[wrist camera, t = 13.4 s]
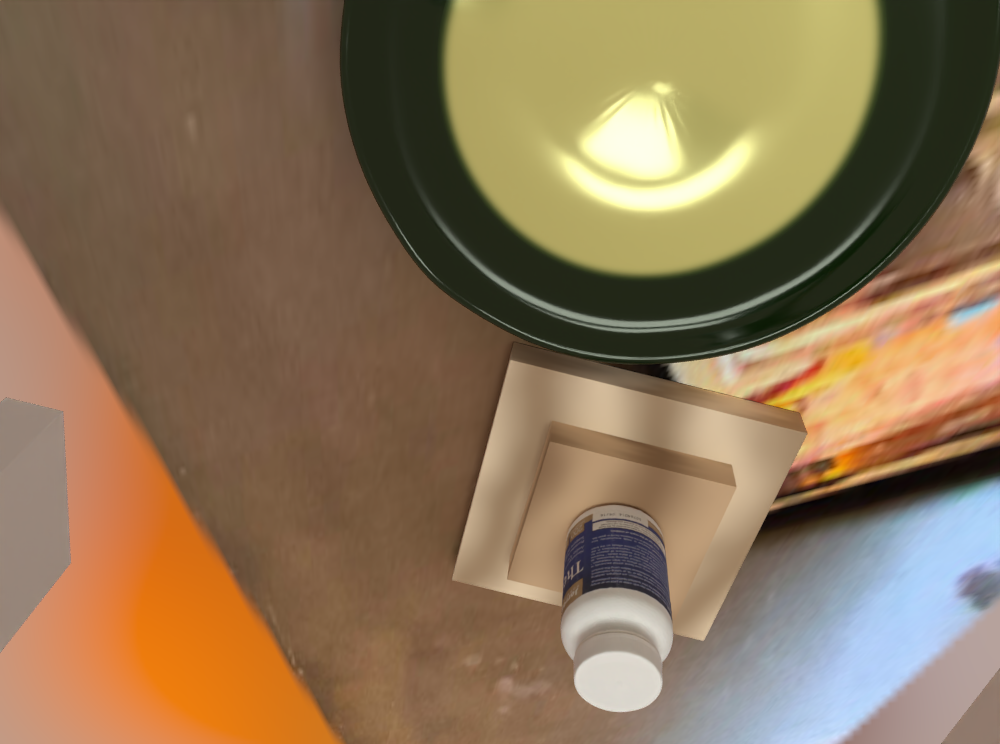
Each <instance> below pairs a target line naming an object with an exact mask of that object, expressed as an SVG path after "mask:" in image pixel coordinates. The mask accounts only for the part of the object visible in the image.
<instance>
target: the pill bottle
mask: <svg viewBox="0 0 1000 744" xmlns="http://www.w3.org/2000/svg"><path fill="white" fill-rule="evenodd" d="M561 637H562V642H563V645H564V647H565V650H566V651H567V653H568V654H569V656H570V657H571V658H572V659H573V661H574V684H575V687H576V690H577V691H578V693H579V694H580V696H581V697H582V698H583V699H584V700H586V701H587V702H588V703H590V704H592V705H593V706H596V707H598V708H600V709H604V710H607V711H613V712H628V711H634V710H638V709H641V708H643V707H646V706H647V705H649V704H651V703H652V702H653V701H654V700H655V699H656V698H657V697H658V695H659V694H660V691H661V688H662V662H663V661H664V660H665V658H666V657H667V655H668V654H669V652H670V649H671V646H672V642H673V623H672V611H671V602H670V592H669V583H668V571H667V562H666V552H665V544H664V539H663V534H662V532H661V530H660V528H659V526H658V525H657V524H656V522H655V521H654V520H653V519H652V518H651V517H650V516H648V515H647V514H645V513H643V512H642V511H640V510H637V509H635V508H631V507H627V506H622V505H606V506H600V507H595V508H592V509H590V510H588V511H586V512H585V513H583V514H582V515H580V516H579V517H578V518H577V519H576V520H575V521H574V522H573V524H572V525H571V527H570V528H569V531H568V534H567V538H566V547H565V561H564V578H563V596H562V615H561Z"/></svg>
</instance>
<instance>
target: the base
mask: <svg viewBox="0 0 1000 744" xmlns="http://www.w3.org/2000/svg"><path fill="white" fill-rule="evenodd" d="M806 435H807V431H806V428H805V426H804V423H803V420H802V418H801V415H800V413H798V412H794V411H790V410H786V409H782V408H778V407H774V406H770V405H765V404H761V403H757V402H753V401H749V400H745V399H741V398H737V397H733V396H729V395H725V394H721V393H717V392H713V391H709V390H705V389H701V388H697V387H693V386H689V385H685V384H681V383H677V382H673V381H669V380H665V379H661V378H657V377H653V376H649V375H645V374H641V373H637V372H632V371H628V370H624V369H620V368H616V367H612V366H608V365H604V364H600V363H596V362H592V361H588V360H584V359H580V358H576V357H572V356H568V355H564V354H560V353H556V352H552V351H548V350H544V349H540V348H536V347H532V346H528V345H524V344H520V343H516V342H514V343H513V347H512V350H511V354H510V358H509V362H508V365H507V369H506V373H505V377H504V380H503V384H502V388H501V392H500V396H499V399H498V403H497V407H496V411H495V414H494V418H493V422H492V426H491V430H490V433H489V437H488V441H487V445H486V448H485V452H484V456H483V460H482V464H481V467H480V471H479V475H478V479H477V482H476V486H475V490H474V494H473V498H472V501H471V505H470V509H469V513H468V516H467V520H466V524H465V528H464V531H463V535H462V539H461V543H460V547H459V550H458V554H457V558H456V563H455V567H454V572H453V577H452V580H454V581H458V582H462V583H466V584H470V585H475V586H479V587H483V588H487V589H491V590H495V591H499V592H504V593H508V594H512V595H516V596H520V597H524V598H528V599H533V600H537V601H541V602H545V603H549V604H553V605H557V606H562V596H563V578H564V561H565V547H566V538H567V534H568V531H569V528H570V527H571V525H572V524H573V522H574V521H575V520H576V519H577V518H578V517H579V516H580V515H582V514H583V513H585V512H586V511H588V510H590V509H592V508H595V507H600V506H606V505H622V506H627V507H631V508H635V509H637V510H640V511H642V512H643V513H645V514H647V515H648V516H650V517H651V518H652V519H653V520H654V521H655V522H656V524H657V525H658V526H659V528H660V530H661V532H662V534H663V539H664V544H665V552H666V562H667V571H668V583H669V592H670V602H671V611H672V623H673V634H678V635H682V636H686V637H690V638H694V639H698V640H702V641H704V639H705V637H706V635H707V633H708V631H709V629H710V627H711V625H712V623H713V621H714V619H715V617H716V615H717V613H718V611H719V609H720V607H721V605H722V603H723V601H724V599H725V597H726V595H727V593H728V591H729V589H730V587H731V585H732V583H733V581H734V579H735V577H736V575H737V573H738V571H739V569H740V567H741V565H742V563H743V561H744V559H745V557H746V555H747V553H748V551H749V549H750V547H751V545H752V543H753V541H754V539H755V537H756V535H757V533H758V531H759V529H760V527H761V525H762V523H763V521H764V519H765V517H766V515H767V513H768V511H769V509H770V507H771V505H772V503H773V501H774V499H775V497H776V495H777V493H778V491H779V489H780V487H781V485H782V483H783V481H784V479H785V477H786V475H787V473H788V471H789V469H790V467H791V465H792V463H793V461H794V459H795V457H796V455H797V453H798V451H799V449H800V447H801V445H802V443H803V441H804V439H805V437H806Z"/></svg>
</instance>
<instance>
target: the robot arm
mask: <svg viewBox="0 0 1000 744" xmlns="http://www.w3.org/2000/svg"><path fill="white" fill-rule="evenodd" d="M63 418H64V417H63V411H60V410H56V409H52V408H47V407H43V406H39V405H35V404H31V403H27V402H23V401H19V400H15V399H11V398H7V397H6V398H5V399H3V400H2V401H1V402H0V652H1V651H2V650H3V649H4V647H5V646H6V645H7V643H8V642H9V641H10V640H11V639H12V637H13V636H14V635H15V633H16V632H17V631H18V630H19V628H20V627H21V626H22V624H23V623H24V622H25V620H26V619H27V618H28V617H29V616H30V614H31V613H32V612H33V610H34V609H35V608H36V607H37V605H38V604H39V603H40V602H41V600H42V598H44V596H45V595H46V594H47V593H48V591H49V590H50V589H51V588H52V586H53V585H54V584H55V582H56V581H57V580H58V579H59V577H60V576H61V575H62V574H63V572H64V571H65V569H66V568H67V567H68V566H69V565H70V563H71V557H70V538H69V517H68V497H67V478H66V457H65V439H64V438H65V437H64V419H63ZM941 744H1000V669H999V670H998V671H997V673H996V674H995V675H994V677H993V678H992V679H991V680H990V682H989V683H988V684H987V685H986V687H985V688H984V689H983V691H982V692H981V693H980V695H979V696H978V697H977V698H976V700H975V701H974V702H973V703H972V705H971V706H970V707H969V709H968V710H967V711H966V712H965V714H964V715H963V716H962V718H961V719H960V720H959V721H958V723H957V724H956V725H955V727H954V728H953V729H952V730H951V732H950V733H949V734H948V735H947V737H946V738H945V739H944V741H943V742H942V743H941Z"/></svg>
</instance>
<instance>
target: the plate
mask: <svg viewBox="0 0 1000 744" xmlns="http://www.w3.org/2000/svg"><path fill="white" fill-rule="evenodd" d="M999 64H1000V0H344V8H343V16H342V27H341V41H340V76H341V87H342V96H343V102H344V108H345V114H346V118H347V123H348V127H349V131H350V135H351V138H352V142H353V145H354V148H355V151H356V155H357V158H358V160H359V163H360V166H361V168H362V171H363V173H364V176H365V178H366V180H367V183H368V185H369V187H370V189H371V191H372V193H373V196H374V198H375V200H376V201H377V203H378V205H379V207H380V209H381V211H382V213H383V214H384V216H385V218H386V220H387V221H388V223H389V225H390V226H391V228H392V230H393V231H394V233H395V235H396V236H397V238H398V239H399V241H400V242H401V244H402V245H403V247H404V248H405V250H406V251H407V252H408V254H409V255H410V257H411V258H412V259H413V261H414V262H415V263H416V264H417V266H418V267H419V268H420V269H421V270H422V272H423V273H424V274H425V275H426V276H427V277H428V278H429V279H430V280H431V281H432V282H433V283H434V284H435V285H436V286H438V287H439V288H440V289H441V290H442V291H443V292H445V293H446V294H447V295H449V296H450V297H451V298H453V299H454V300H455V301H457V302H458V303H460V304H461V305H463V306H464V307H466V308H467V309H469V310H470V311H472V312H473V313H475V314H477V315H478V316H480V317H482V318H483V319H485V320H487V321H488V322H490V323H492V324H494V325H495V326H497V327H499V328H501V329H503V330H505V331H507V332H509V333H511V334H513V335H515V336H517V337H519V338H521V339H524V340H526V341H528V342H531V343H533V344H536V345H539V346H541V347H544V348H547V349H550V350H553V351H556V352H559V353H563V354H567V355H570V356H575V357H579V358H583V359H589V360H594V361H601V362H608V363H619V364H664V363H677V362H686V361H694V360H701V359H708V358H713V357H719V356H723V355H728V354H732V353H736V352H739V351H743V350H747V349H750V348H753V347H756V346H759V345H762V344H764V343H767V342H770V341H772V340H775V339H777V338H779V337H782V336H784V335H786V334H788V333H791V332H793V331H795V330H797V329H799V328H801V327H803V326H805V325H807V324H808V323H810V322H812V321H814V320H816V319H817V318H819V317H821V316H823V315H824V314H826V313H828V312H829V311H831V310H832V309H834V308H835V307H837V306H838V305H840V304H841V303H843V302H844V301H846V300H847V299H849V298H850V297H851V296H853V295H854V294H855V293H857V292H858V291H859V290H861V289H862V288H863V287H864V286H866V285H867V284H868V283H869V282H870V281H872V280H873V279H874V278H875V277H876V276H877V275H879V274H880V273H881V272H882V271H883V270H884V269H885V268H886V267H887V266H888V265H889V264H891V263H892V262H893V261H894V260H895V259H896V258H897V257H898V256H899V255H900V254H901V252H902V251H903V250H904V249H905V248H906V247H907V246H908V245H909V244H910V243H911V242H912V240H913V239H914V238H915V237H916V236H917V235H918V234H919V232H920V231H921V230H922V229H923V227H924V226H925V225H926V224H927V222H928V221H929V220H930V219H931V217H932V216H933V214H934V213H935V212H936V210H937V209H938V208H939V206H940V205H941V203H942V202H943V200H944V199H945V197H946V196H947V194H948V193H949V191H950V189H951V188H952V186H953V184H954V183H955V181H956V180H957V178H958V176H959V174H960V172H961V171H962V169H963V167H964V165H965V163H966V161H967V159H968V157H969V155H970V153H971V151H972V149H973V147H974V145H975V142H976V140H977V138H978V135H979V133H980V131H981V128H982V125H983V123H984V120H985V117H986V114H987V111H988V108H989V105H990V102H991V99H992V95H993V91H994V87H995V83H996V79H997V74H998V69H999Z"/></svg>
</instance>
